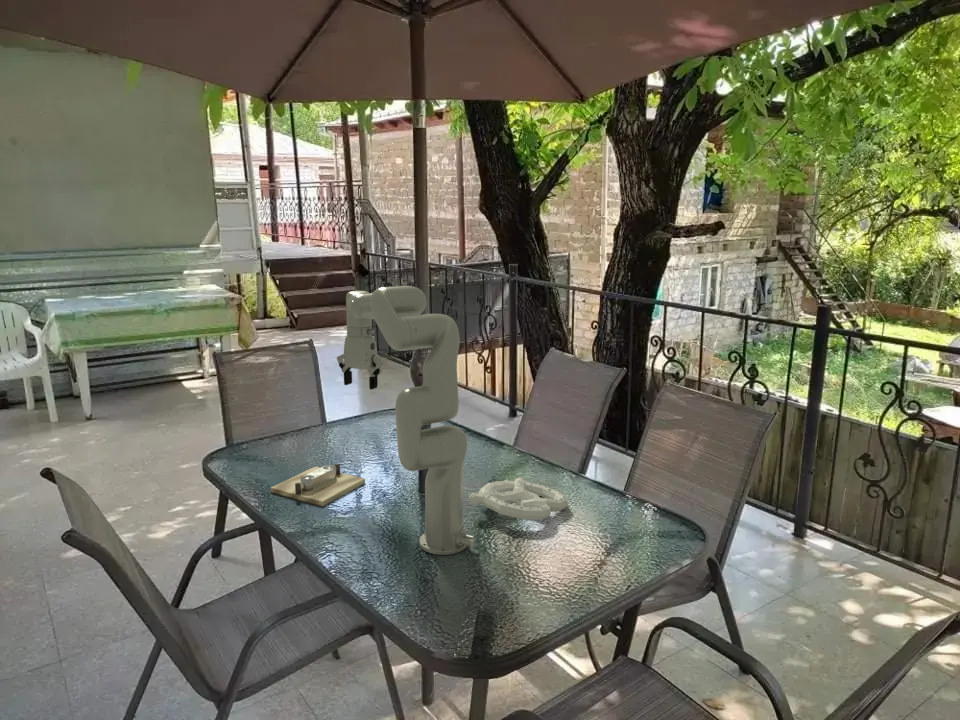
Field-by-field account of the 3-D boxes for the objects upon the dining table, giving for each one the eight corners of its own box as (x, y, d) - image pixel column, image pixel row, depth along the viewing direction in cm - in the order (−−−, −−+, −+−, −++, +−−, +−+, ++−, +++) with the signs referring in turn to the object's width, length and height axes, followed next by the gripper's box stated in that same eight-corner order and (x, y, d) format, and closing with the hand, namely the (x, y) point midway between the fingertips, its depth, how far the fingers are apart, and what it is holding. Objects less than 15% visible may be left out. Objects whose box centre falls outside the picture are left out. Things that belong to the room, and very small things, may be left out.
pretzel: (509, 488, 221) (511, 468, 220) (576, 510, 208) (579, 489, 207) (457, 507, 198) (459, 485, 197) (529, 533, 185) (532, 510, 184)
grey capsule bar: (338, 476, 220) (338, 466, 219) (308, 492, 208) (307, 481, 207) (328, 474, 222) (328, 463, 221) (298, 489, 210) (297, 478, 209)
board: (365, 482, 220) (364, 469, 219) (322, 506, 202) (321, 491, 201) (315, 470, 229) (315, 457, 228) (270, 492, 212) (270, 478, 211)
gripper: (390, 332, 212) (390, 387, 216) (344, 327, 220) (346, 380, 224) (375, 336, 206) (376, 393, 210) (329, 331, 214) (330, 385, 217)
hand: (360, 386), depth 217 cm, fingers open, 9 cm apart
